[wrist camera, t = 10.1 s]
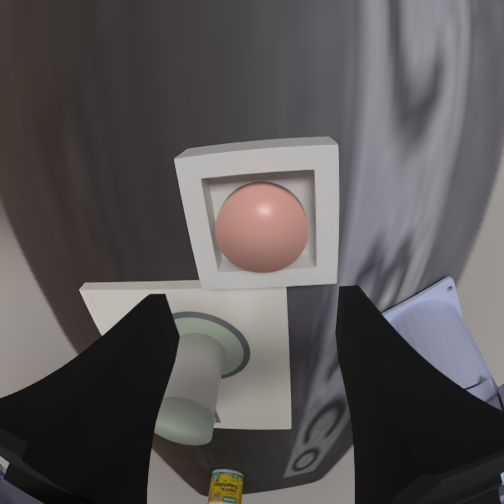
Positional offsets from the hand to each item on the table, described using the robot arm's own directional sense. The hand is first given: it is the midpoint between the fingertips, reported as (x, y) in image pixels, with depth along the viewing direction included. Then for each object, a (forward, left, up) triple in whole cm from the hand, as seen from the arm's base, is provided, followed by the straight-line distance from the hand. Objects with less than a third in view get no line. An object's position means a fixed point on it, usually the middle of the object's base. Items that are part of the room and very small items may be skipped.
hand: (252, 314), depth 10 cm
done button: (0, 0, -7) cm, 7 cm away
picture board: (-10, +14, -9) cm, 19 cm away
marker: (-7, +11, -8) cm, 15 cm away
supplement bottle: (-35, +31, -10) cm, 48 cm away
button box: (0, 0, -9) cm, 9 cm away
